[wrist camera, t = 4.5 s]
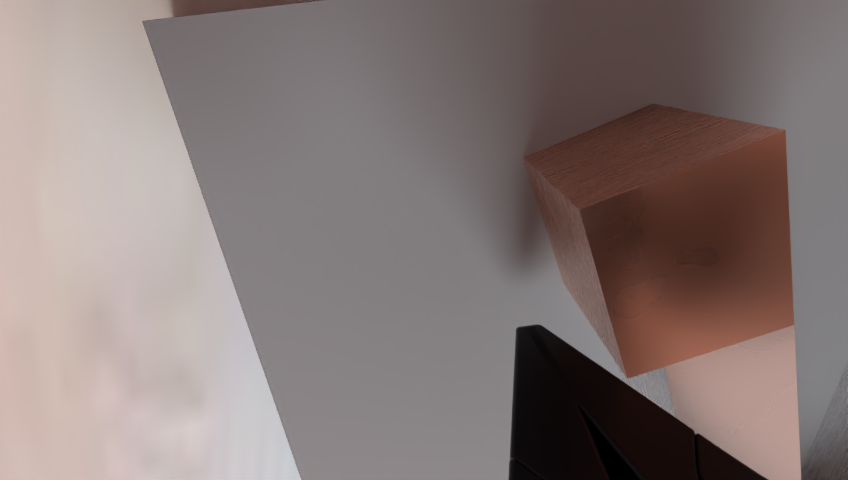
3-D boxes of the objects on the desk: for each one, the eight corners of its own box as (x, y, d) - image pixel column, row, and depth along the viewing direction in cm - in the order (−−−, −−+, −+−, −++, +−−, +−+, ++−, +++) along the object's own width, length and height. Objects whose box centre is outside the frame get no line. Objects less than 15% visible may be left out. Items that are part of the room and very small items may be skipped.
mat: (843, 571, 17) (868, 601, 16) (361, 613, 17) (359, 645, 16) (1238, -98, 7) (1353, -118, 7) (173, 24, 8) (142, 21, 7)
